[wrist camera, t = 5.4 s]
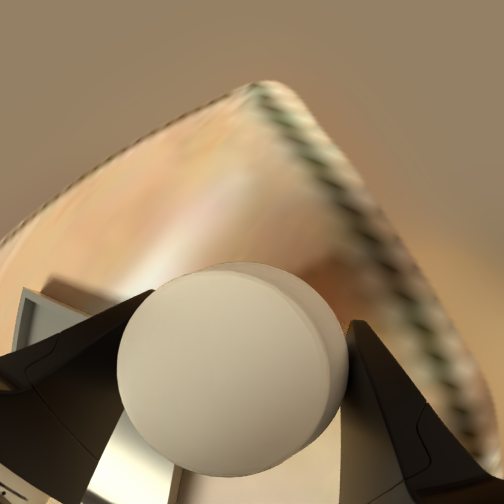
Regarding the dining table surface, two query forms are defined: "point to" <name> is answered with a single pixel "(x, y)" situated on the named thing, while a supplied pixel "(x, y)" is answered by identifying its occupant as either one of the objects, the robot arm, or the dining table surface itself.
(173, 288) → the supplement bottle
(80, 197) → the dining table surface
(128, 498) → the slate tray
